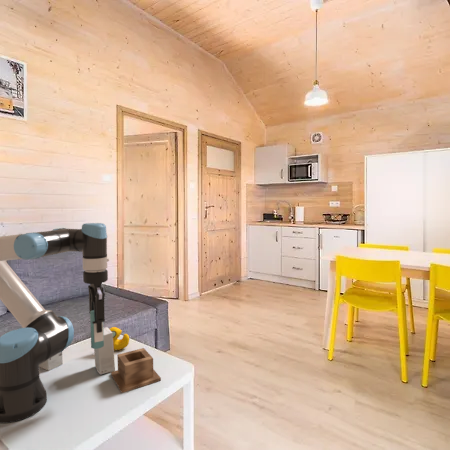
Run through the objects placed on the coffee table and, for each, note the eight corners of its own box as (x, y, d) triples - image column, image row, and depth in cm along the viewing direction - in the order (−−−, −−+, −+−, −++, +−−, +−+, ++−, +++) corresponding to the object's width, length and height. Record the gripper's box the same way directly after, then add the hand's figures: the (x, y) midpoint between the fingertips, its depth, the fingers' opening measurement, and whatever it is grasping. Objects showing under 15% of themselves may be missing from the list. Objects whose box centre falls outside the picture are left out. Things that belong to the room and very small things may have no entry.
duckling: (101, 354, 138) (100, 331, 137) (102, 348, 143) (102, 326, 143) (129, 350, 141) (128, 328, 140) (129, 345, 146) (129, 323, 146)
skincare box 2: (115, 371, 124) (114, 333, 123) (98, 375, 121) (97, 336, 120) (109, 362, 131) (108, 326, 130) (93, 366, 128) (92, 329, 127)
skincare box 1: (48, 371, 124) (47, 352, 124) (39, 367, 127) (38, 348, 127) (63, 364, 130) (62, 346, 129) (53, 360, 133) (53, 343, 132)
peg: (92, 349, 107) (91, 314, 106) (90, 345, 110) (89, 310, 110) (105, 346, 109) (104, 311, 108) (102, 342, 113) (101, 308, 112)
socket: (121, 393, 110) (121, 370, 109) (111, 374, 122) (110, 353, 121) (160, 380, 118) (160, 359, 117) (147, 364, 129) (146, 344, 129)
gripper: (113, 273, 103) (115, 345, 105) (101, 264, 117) (103, 328, 119) (88, 276, 99) (90, 351, 100) (78, 266, 113) (80, 332, 115)
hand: (97, 338), depth 110 cm, fingers closed on peg, 4 cm apart
